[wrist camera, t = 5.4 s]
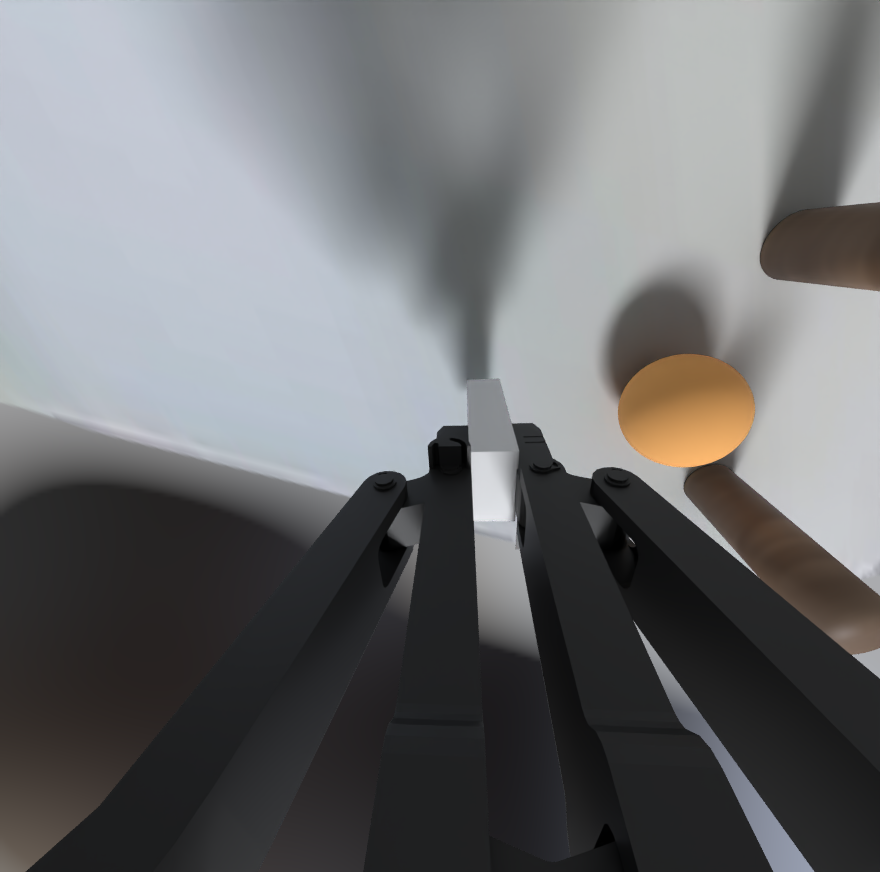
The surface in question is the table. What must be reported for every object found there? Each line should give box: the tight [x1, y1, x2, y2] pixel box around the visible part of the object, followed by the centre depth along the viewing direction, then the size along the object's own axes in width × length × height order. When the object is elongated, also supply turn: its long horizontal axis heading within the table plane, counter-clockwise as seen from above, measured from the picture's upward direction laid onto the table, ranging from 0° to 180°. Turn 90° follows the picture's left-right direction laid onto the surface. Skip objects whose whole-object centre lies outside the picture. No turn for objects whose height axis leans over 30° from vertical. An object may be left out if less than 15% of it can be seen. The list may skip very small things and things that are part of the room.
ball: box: [618, 354, 755, 467], centre depth 16 cm, size 5×5×5 cm
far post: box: [684, 465, 880, 655], centre depth 17 cm, size 3×3×9 cm
